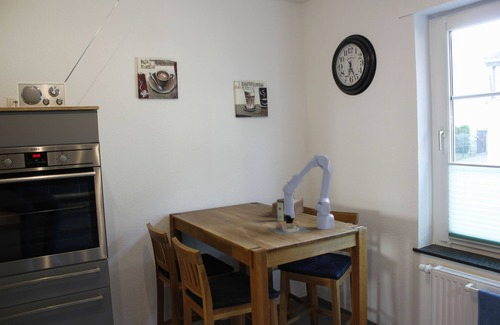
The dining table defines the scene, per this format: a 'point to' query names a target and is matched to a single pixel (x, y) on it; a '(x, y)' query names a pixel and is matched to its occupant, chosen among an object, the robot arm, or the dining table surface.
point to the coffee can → (280, 210)
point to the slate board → (280, 231)
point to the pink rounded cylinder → (296, 223)
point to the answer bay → (291, 230)
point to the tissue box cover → (297, 207)
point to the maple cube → (291, 226)
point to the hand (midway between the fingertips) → (289, 228)
